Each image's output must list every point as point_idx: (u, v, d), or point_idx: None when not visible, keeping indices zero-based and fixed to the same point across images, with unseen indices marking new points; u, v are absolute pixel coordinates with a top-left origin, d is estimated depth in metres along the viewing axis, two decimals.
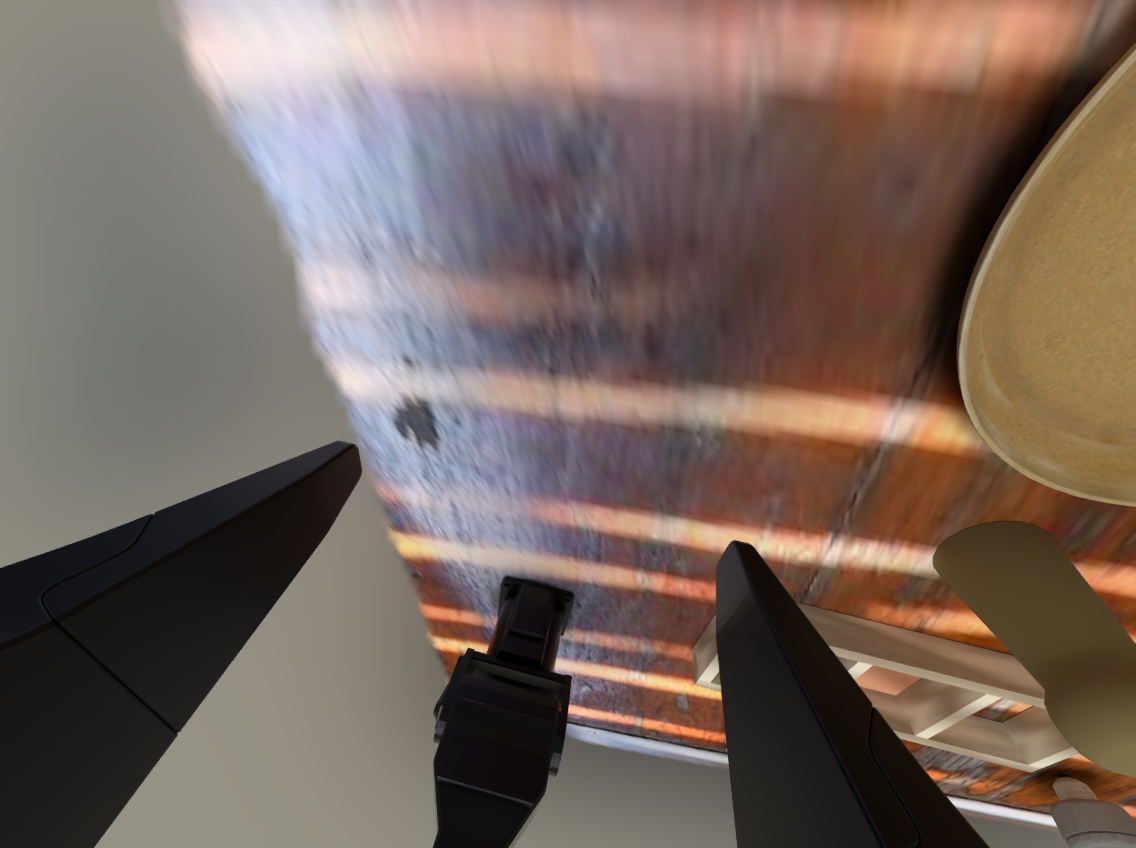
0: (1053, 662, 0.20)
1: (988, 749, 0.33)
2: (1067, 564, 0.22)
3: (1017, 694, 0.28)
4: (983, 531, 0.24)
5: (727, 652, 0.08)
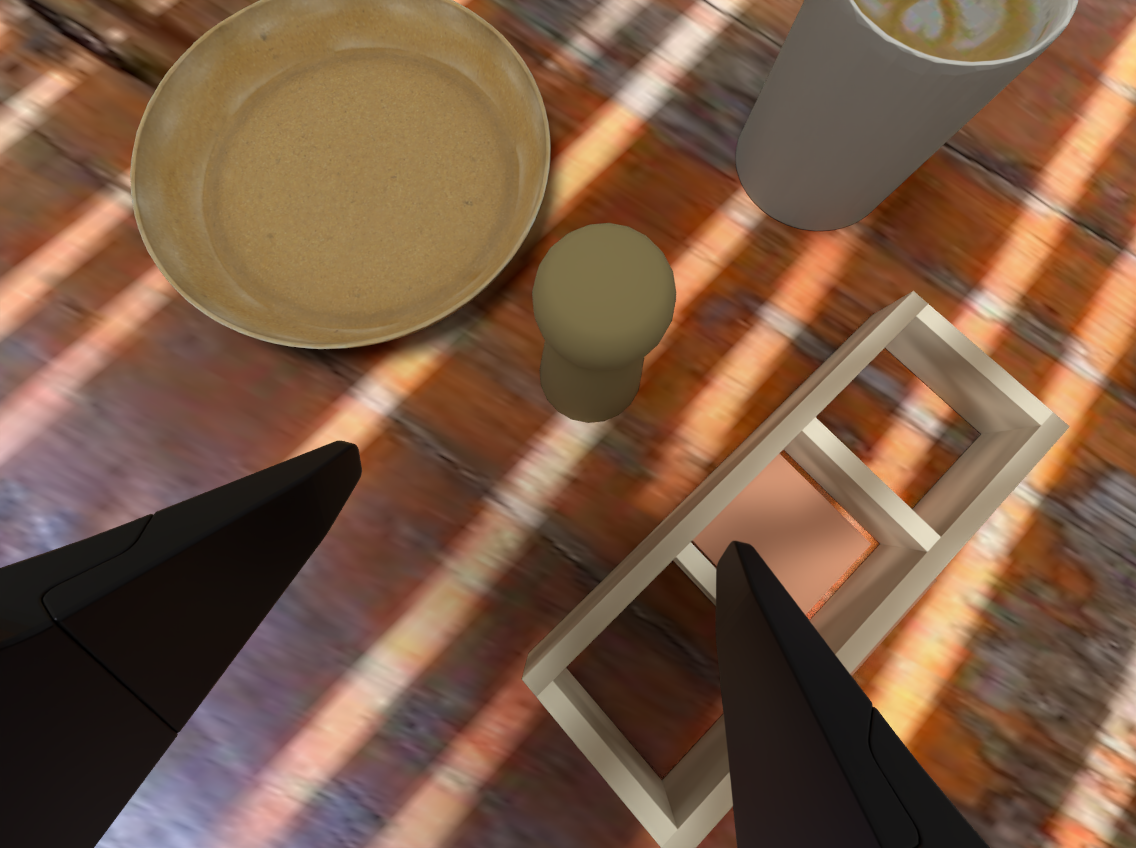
0: None
1: (997, 464, 0.20)
2: None
3: (808, 399, 0.21)
4: (540, 370, 0.24)
5: (727, 652, 0.08)
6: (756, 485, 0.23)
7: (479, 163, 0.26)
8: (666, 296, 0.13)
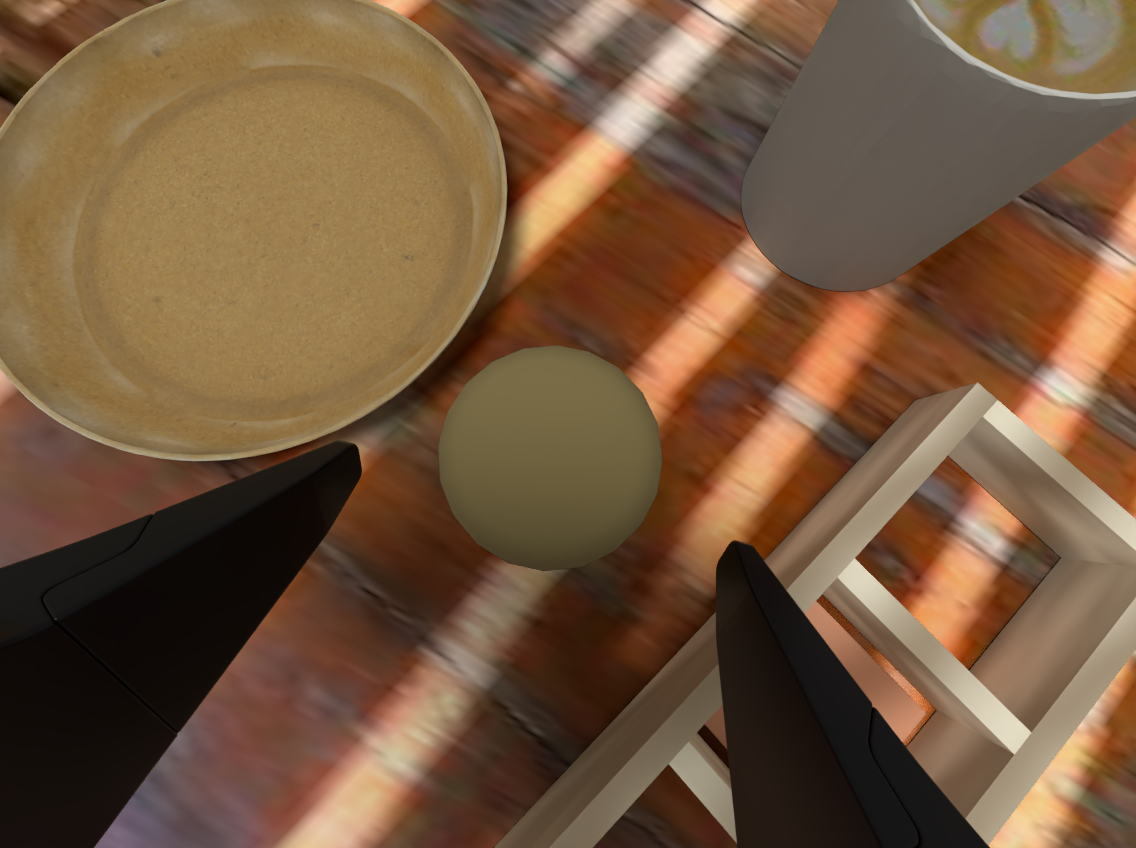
0: None
1: (1099, 621, 0.15)
2: None
3: (845, 532, 0.15)
4: None
5: (727, 652, 0.08)
6: None
7: (423, 207, 0.21)
8: (646, 475, 0.08)
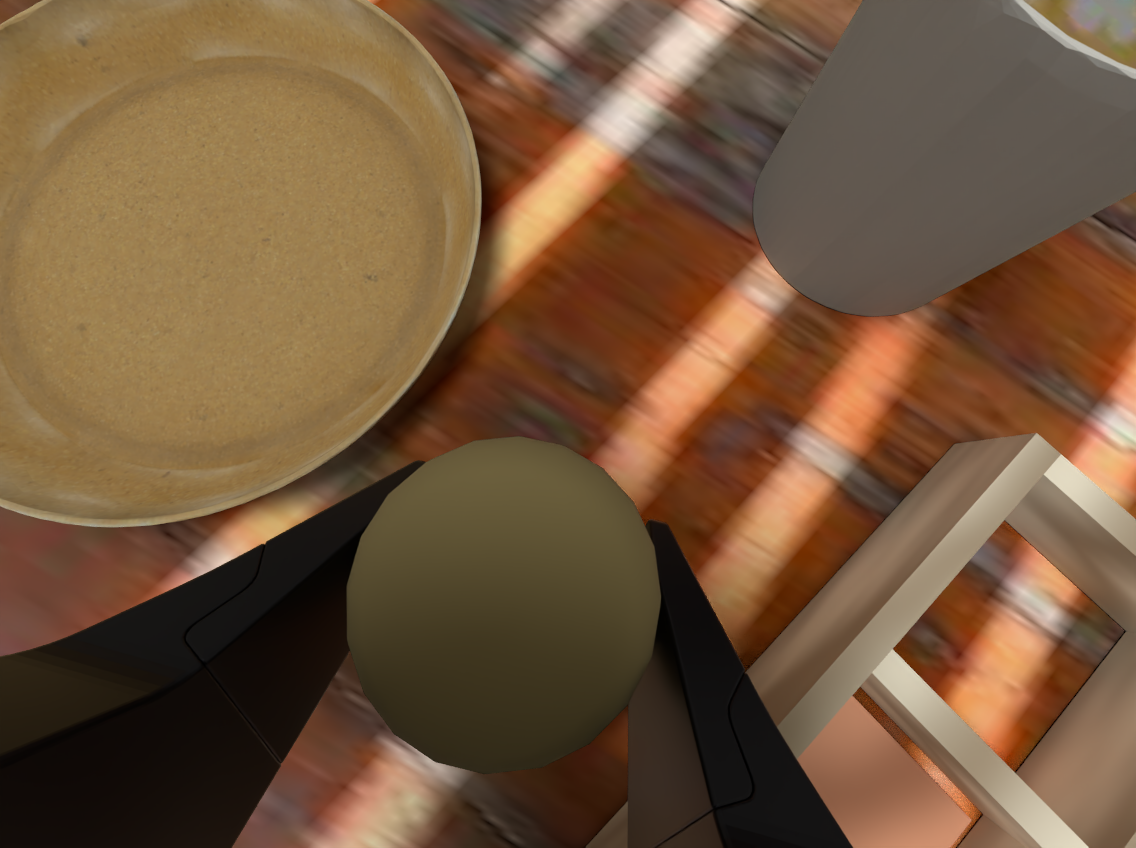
0: None
1: None
2: None
3: (881, 617, 0.13)
4: None
5: None
6: None
7: (389, 219, 0.18)
8: (636, 645, 0.06)
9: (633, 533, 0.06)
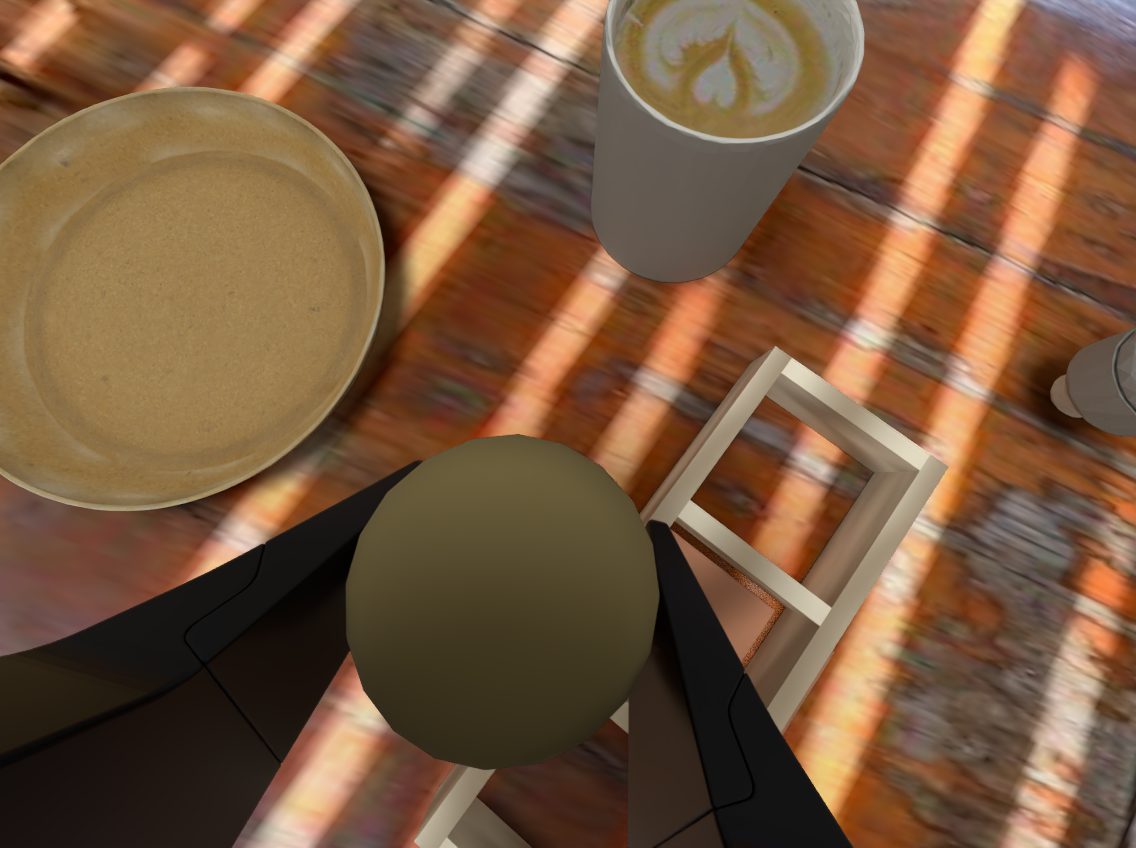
0: None
1: (882, 517, 0.20)
2: None
3: (681, 481, 0.20)
4: None
5: None
6: None
7: (321, 263, 0.24)
8: (634, 642, 0.06)
9: (631, 531, 0.06)
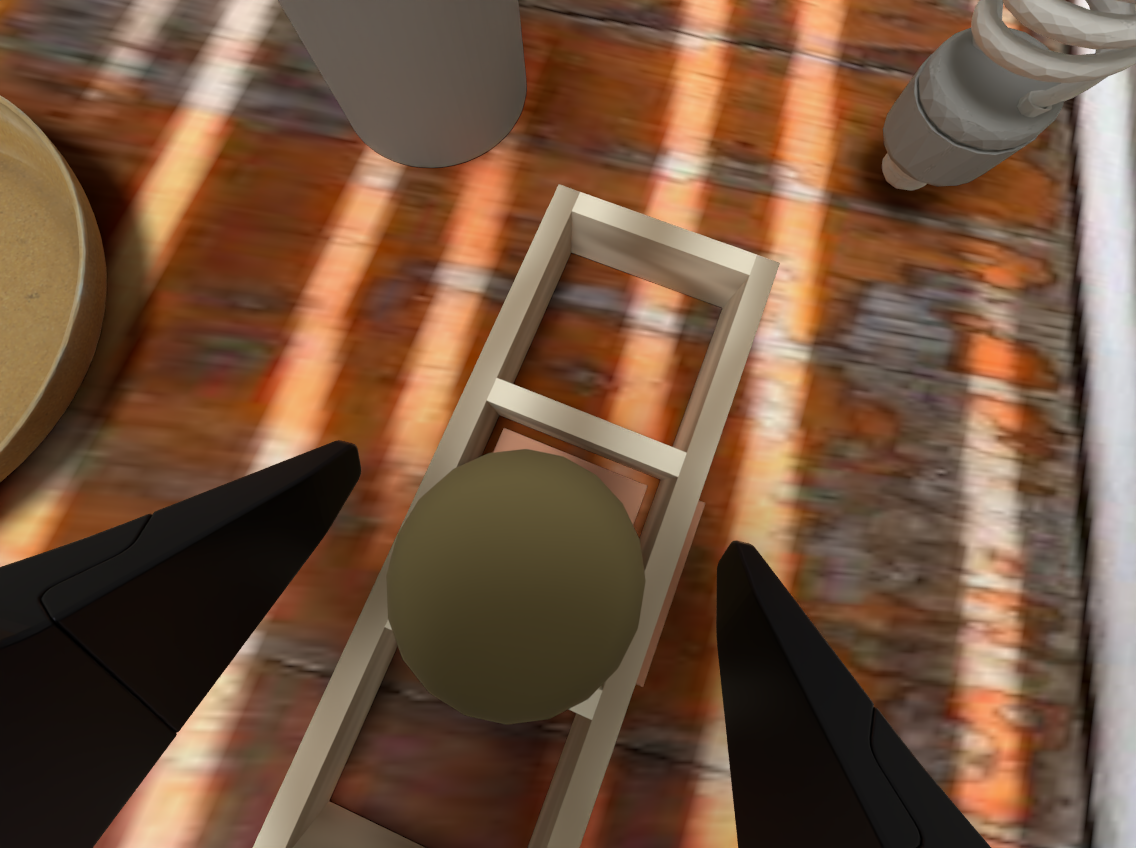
0: None
1: (724, 339, 0.17)
2: None
3: (482, 359, 0.16)
4: None
5: (728, 652, 0.08)
6: None
7: (32, 243, 0.20)
8: (624, 619, 0.07)
9: (621, 529, 0.08)
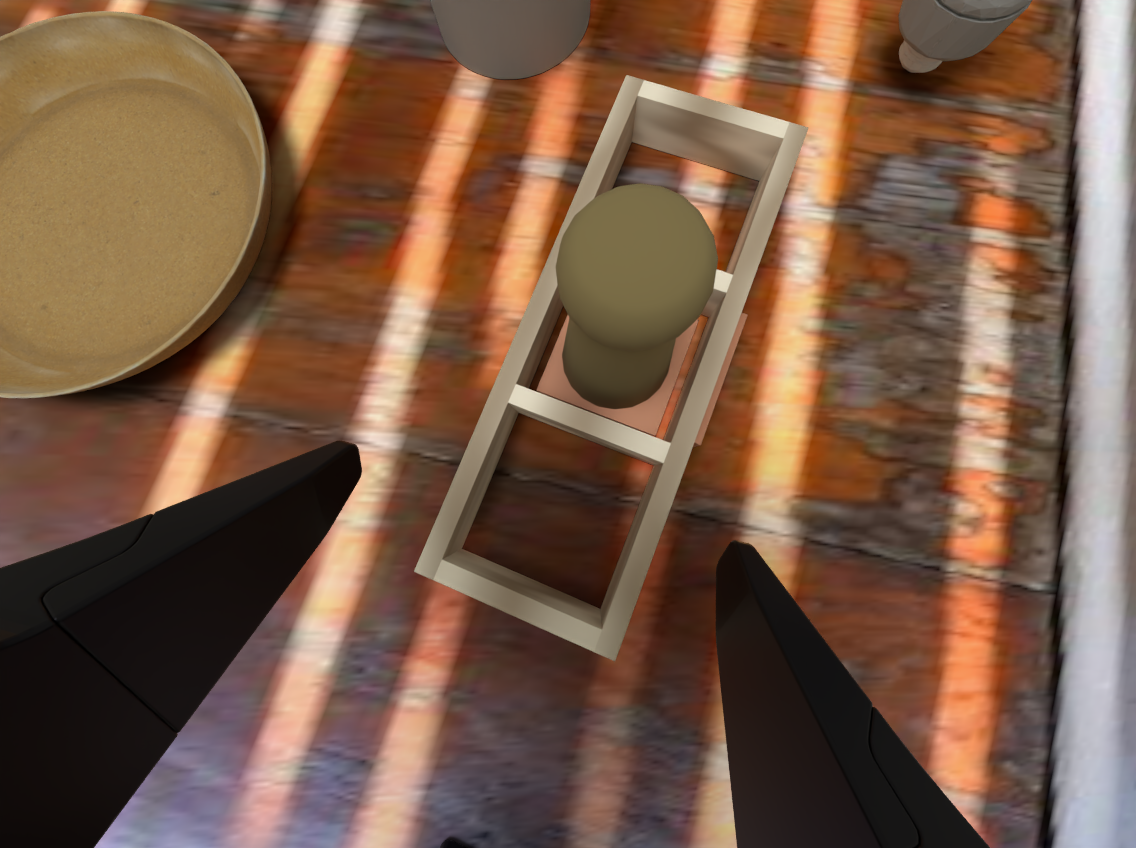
0: None
1: (762, 191, 0.21)
2: None
3: (571, 212, 0.21)
4: (562, 355, 0.22)
5: (727, 652, 0.08)
6: None
7: (210, 153, 0.26)
8: (708, 263, 0.12)
9: None
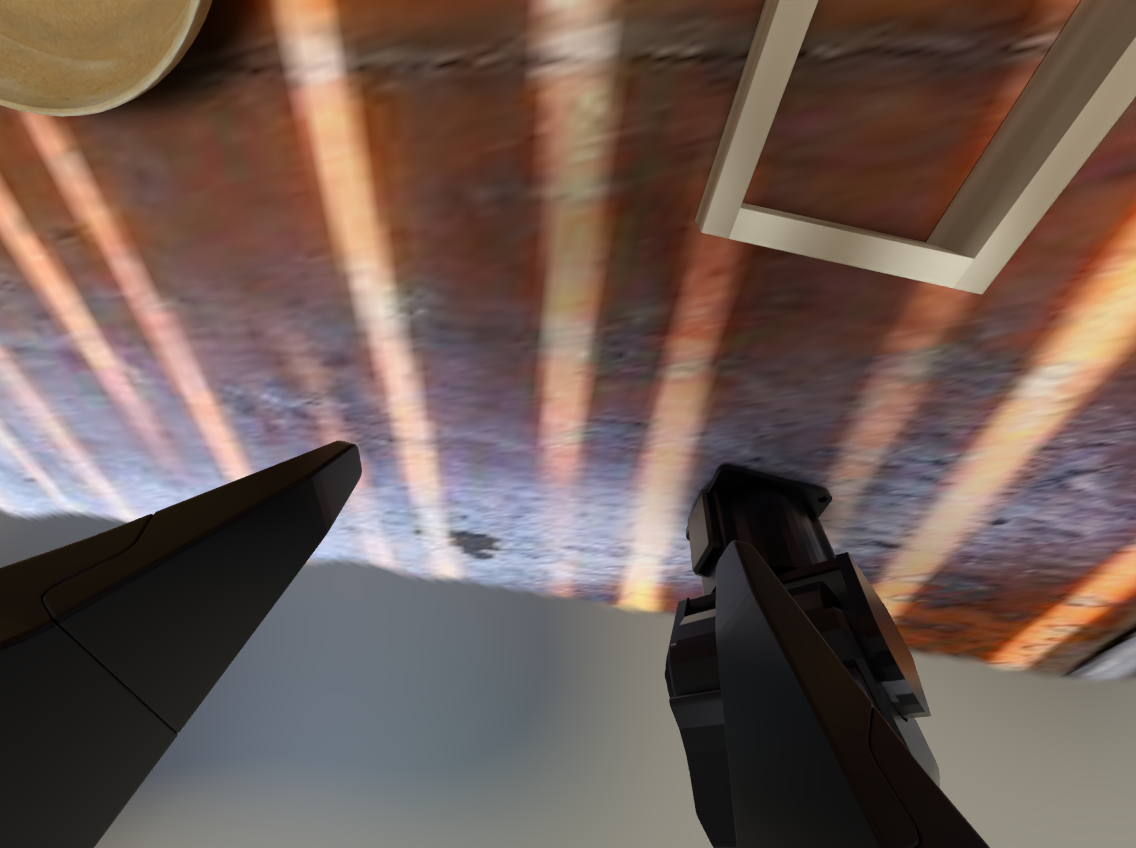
0: None
1: None
2: None
3: None
4: None
5: (727, 652, 0.08)
6: None
7: None
8: None
9: None
